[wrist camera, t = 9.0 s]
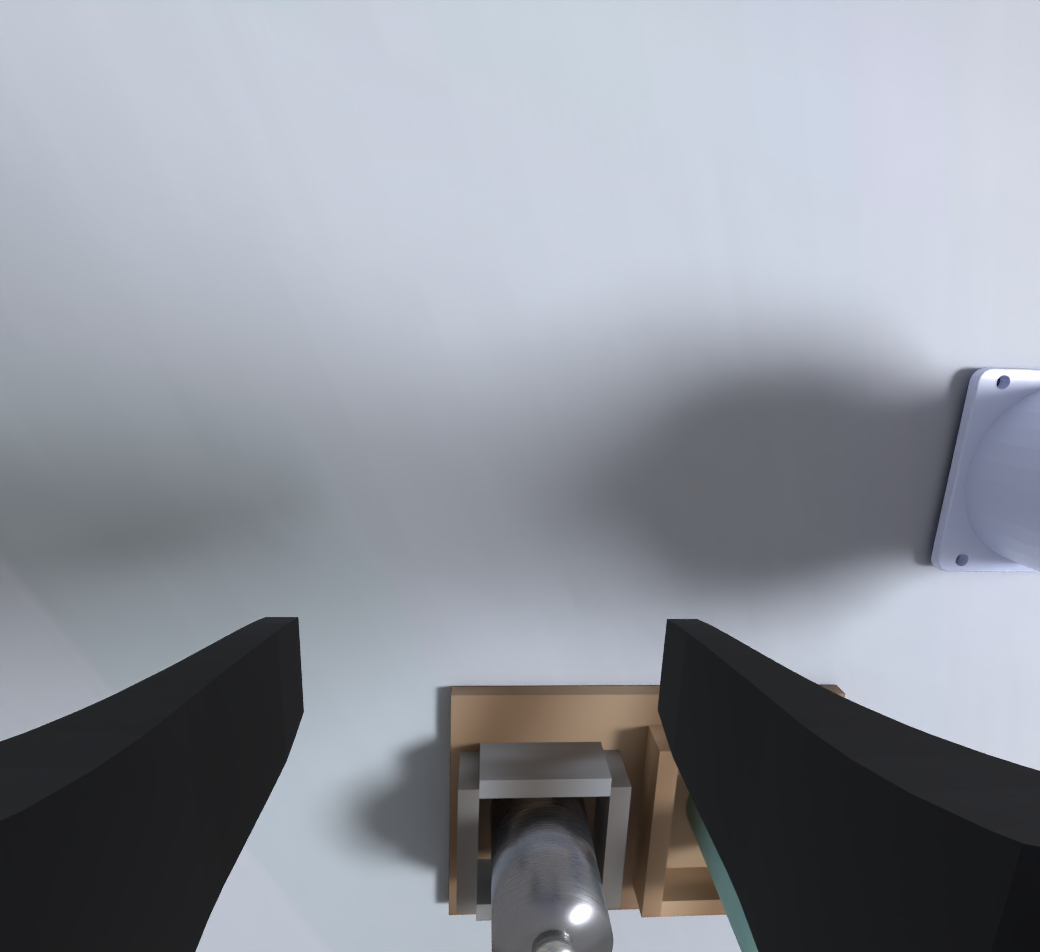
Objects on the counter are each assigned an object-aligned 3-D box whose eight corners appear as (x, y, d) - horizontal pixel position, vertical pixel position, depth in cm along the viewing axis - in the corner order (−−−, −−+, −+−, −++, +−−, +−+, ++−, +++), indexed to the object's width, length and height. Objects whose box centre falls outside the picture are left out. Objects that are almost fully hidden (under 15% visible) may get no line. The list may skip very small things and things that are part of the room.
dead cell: (586, 768, 23) (622, 914, 17) (581, 846, 24) (612, 1011, 18) (491, 770, 23) (493, 919, 17) (489, 849, 24) (490, 1017, 18)
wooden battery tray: (836, 684, 23) (878, 725, 21) (797, 891, 26) (831, 949, 23) (451, 686, 22) (447, 729, 20) (449, 901, 25) (445, 964, 22)
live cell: (760, 751, 23) (852, 894, 17) (788, 819, 24) (884, 976, 18) (672, 787, 23) (734, 940, 17) (703, 853, 24) (772, 1019, 18)
